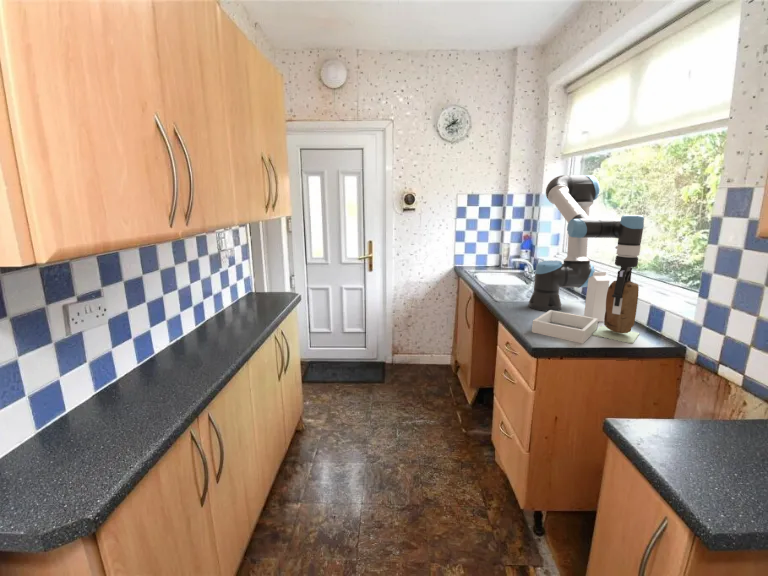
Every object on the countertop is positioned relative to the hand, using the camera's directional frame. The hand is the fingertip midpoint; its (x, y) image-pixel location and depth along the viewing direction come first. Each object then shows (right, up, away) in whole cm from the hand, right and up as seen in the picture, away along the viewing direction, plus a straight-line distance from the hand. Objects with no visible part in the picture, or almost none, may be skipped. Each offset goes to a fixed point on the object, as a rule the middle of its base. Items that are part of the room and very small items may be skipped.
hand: (619, 310), depth 154 cm
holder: (-19, -9, +7) cm, 22 cm away
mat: (0, -10, +2) cm, 10 cm away
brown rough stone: (0, -8, +2) cm, 8 cm away
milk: (+2, -6, +22) cm, 23 cm away
